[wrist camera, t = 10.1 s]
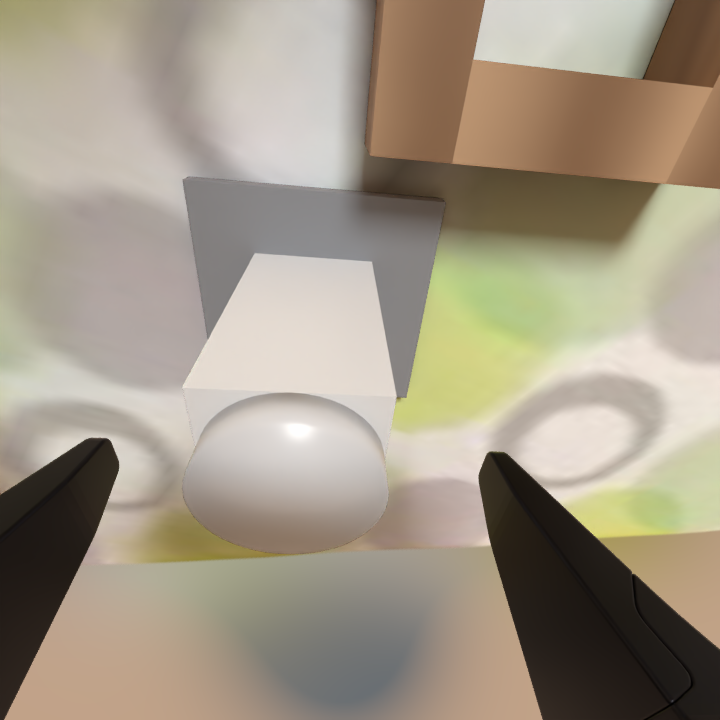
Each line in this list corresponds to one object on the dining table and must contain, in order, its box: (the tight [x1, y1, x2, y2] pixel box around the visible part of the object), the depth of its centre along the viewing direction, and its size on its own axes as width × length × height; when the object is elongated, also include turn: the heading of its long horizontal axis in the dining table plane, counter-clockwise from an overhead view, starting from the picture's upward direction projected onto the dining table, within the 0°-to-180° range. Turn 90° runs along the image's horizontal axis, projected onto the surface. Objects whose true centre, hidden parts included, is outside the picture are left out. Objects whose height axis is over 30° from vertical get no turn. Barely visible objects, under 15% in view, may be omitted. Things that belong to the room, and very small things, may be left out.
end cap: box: [182, 253, 397, 554], centre depth 12 cm, size 4×4×9 cm
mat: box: [183, 177, 446, 398], centre depth 16 cm, size 9×9×1 cm
